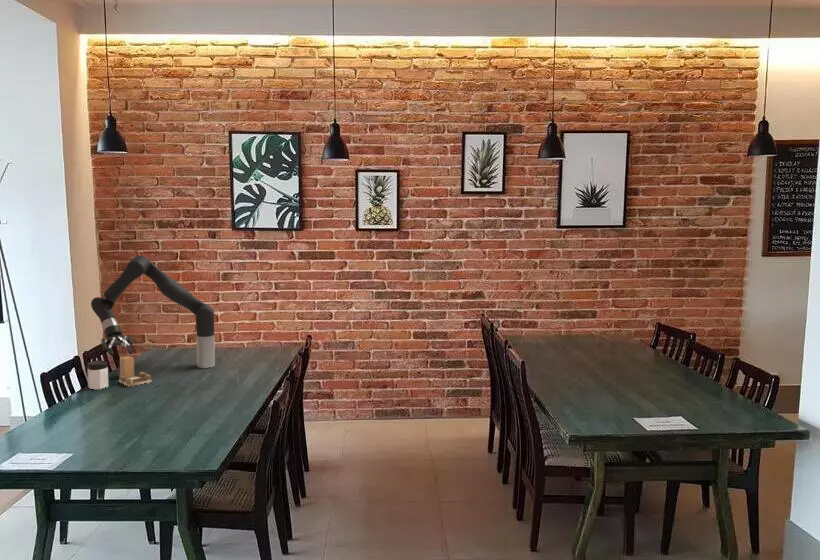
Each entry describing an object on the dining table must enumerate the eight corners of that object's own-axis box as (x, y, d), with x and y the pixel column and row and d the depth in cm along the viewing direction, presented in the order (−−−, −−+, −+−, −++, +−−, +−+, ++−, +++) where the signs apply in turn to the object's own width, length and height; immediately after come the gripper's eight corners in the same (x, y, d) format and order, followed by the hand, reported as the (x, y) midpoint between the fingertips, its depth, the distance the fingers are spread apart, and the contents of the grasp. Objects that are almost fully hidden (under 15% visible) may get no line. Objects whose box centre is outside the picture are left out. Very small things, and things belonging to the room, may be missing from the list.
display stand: (119, 382, 286) (118, 375, 286) (141, 378, 294) (141, 371, 294) (128, 387, 279) (128, 380, 278) (151, 382, 287) (151, 375, 286)
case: (120, 376, 296) (119, 357, 295) (129, 375, 299) (128, 355, 298) (125, 379, 292) (124, 359, 291) (134, 377, 296) (133, 358, 294)
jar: (110, 388, 277) (109, 363, 275) (90, 390, 272) (89, 365, 270) (105, 383, 284) (104, 359, 282) (86, 386, 278) (85, 361, 277)
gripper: (98, 326, 298) (108, 352, 292) (127, 322, 309) (137, 347, 302) (95, 334, 302) (104, 360, 296) (123, 331, 313) (133, 355, 306)
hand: (121, 354), depth 299 cm, fingers open, 8 cm apart
